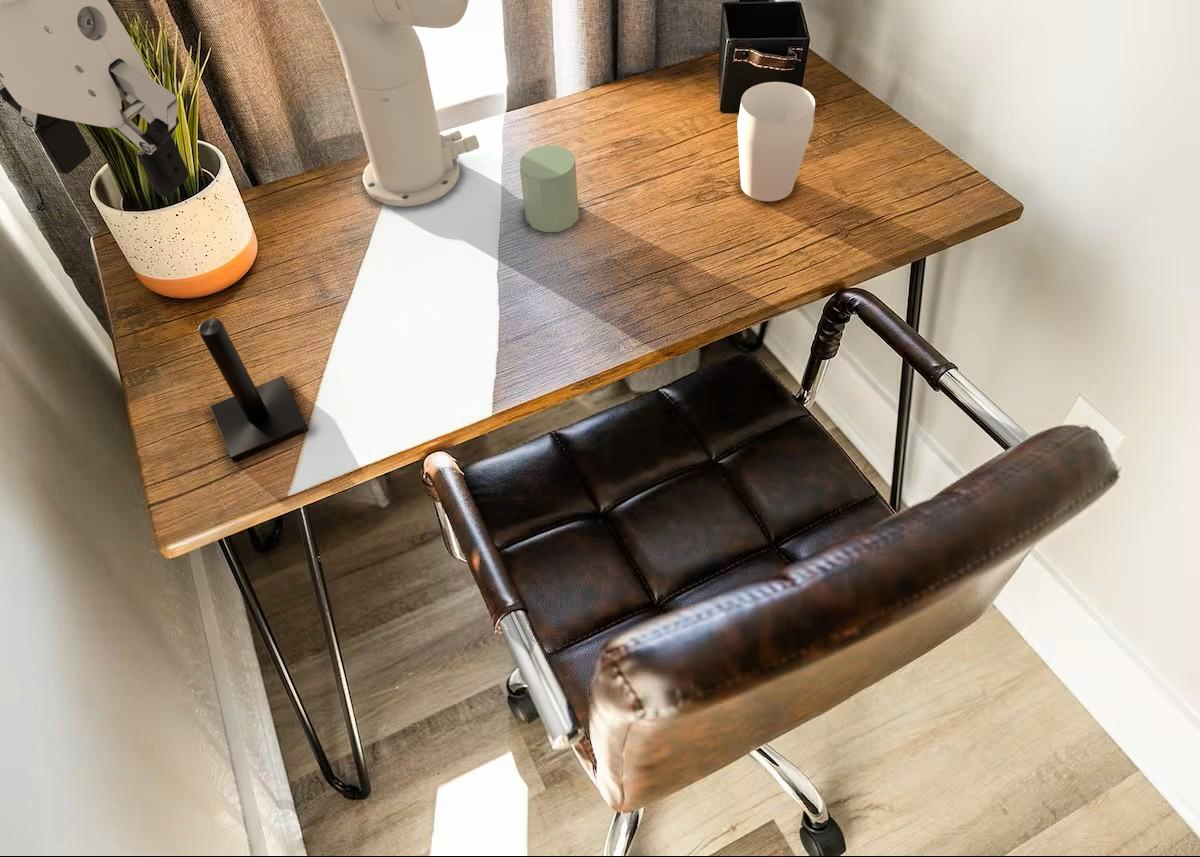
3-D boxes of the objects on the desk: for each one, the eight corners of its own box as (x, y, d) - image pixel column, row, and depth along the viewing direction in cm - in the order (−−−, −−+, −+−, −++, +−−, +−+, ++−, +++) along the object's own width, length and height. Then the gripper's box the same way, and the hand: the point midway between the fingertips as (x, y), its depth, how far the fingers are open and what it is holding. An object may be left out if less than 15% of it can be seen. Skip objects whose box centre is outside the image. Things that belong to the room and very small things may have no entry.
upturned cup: (562, 192, 116) (558, 138, 109) (588, 220, 112) (585, 166, 106) (517, 210, 114) (510, 156, 107) (541, 238, 110) (535, 184, 104)
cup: (720, 197, 114) (727, 112, 104) (747, 158, 119) (756, 74, 109) (787, 216, 111) (801, 131, 102) (812, 175, 116) (827, 91, 106)
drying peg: (285, 381, 97) (239, 285, 86) (309, 430, 93) (265, 336, 82) (212, 411, 95) (156, 317, 84) (234, 463, 90) (177, 371, 79)
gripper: (149, -55, 58) (242, 167, 71) (-53, -86, 62) (71, 130, 76) (70, 0, 54) (185, 225, 67) (-142, -37, 58) (7, 182, 71)
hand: (125, 175), depth 71 cm, fingers open, 9 cm apart
